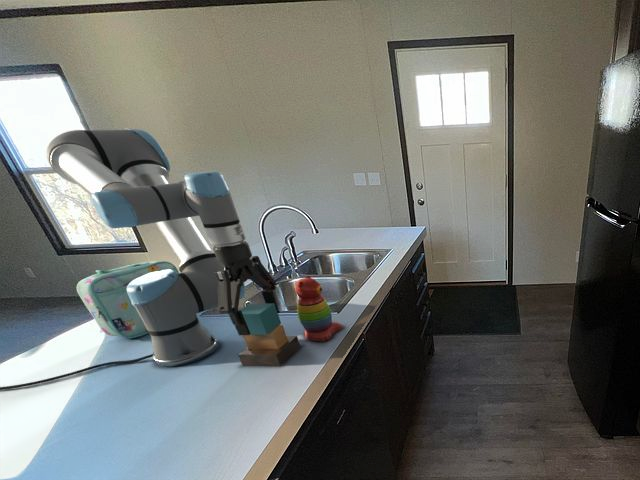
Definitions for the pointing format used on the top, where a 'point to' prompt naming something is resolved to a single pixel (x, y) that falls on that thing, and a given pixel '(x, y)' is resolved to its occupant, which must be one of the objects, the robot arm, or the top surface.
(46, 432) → the top surface
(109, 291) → the lunch box
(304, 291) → the stacking bear
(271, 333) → the oak brick
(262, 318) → the teal cube
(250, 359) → the walnut base
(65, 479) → the top surface
